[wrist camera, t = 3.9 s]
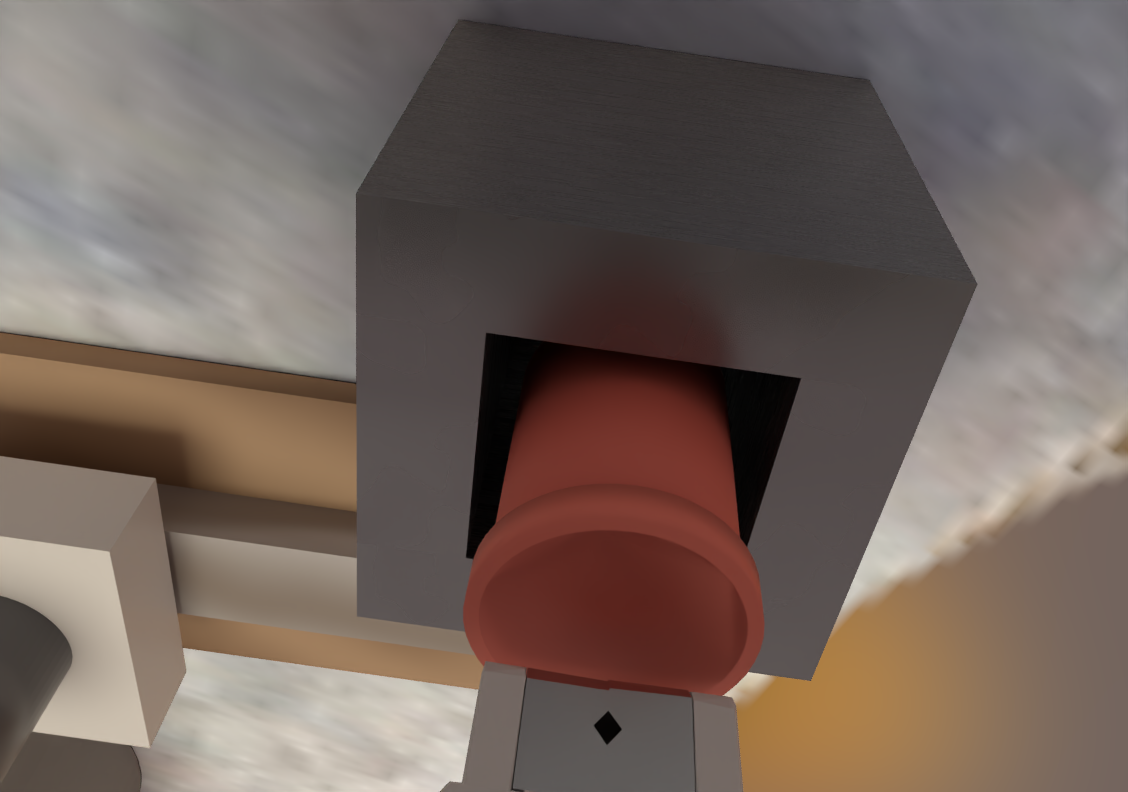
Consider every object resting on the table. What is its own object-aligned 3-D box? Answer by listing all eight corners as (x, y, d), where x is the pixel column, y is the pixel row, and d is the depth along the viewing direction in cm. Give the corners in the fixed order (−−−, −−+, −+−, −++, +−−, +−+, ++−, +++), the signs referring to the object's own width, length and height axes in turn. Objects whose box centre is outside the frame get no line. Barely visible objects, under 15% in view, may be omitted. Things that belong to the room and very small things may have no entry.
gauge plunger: (521, 283, 16) (473, 495, 11) (762, 318, 16) (799, 543, 12) (501, 468, 18) (454, 700, 14) (711, 498, 18) (728, 739, 14)
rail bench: (-72, 322, 24) (-135, 377, 22) (779, 444, 24) (790, 510, 23) (12, 601, 30) (-33, 664, 28) (698, 698, 30) (701, 767, 28)
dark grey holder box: (458, 19, 19) (356, 192, 13) (869, 80, 19) (977, 283, 13) (438, 362, 24) (356, 616, 17) (769, 409, 24) (810, 680, 17)
